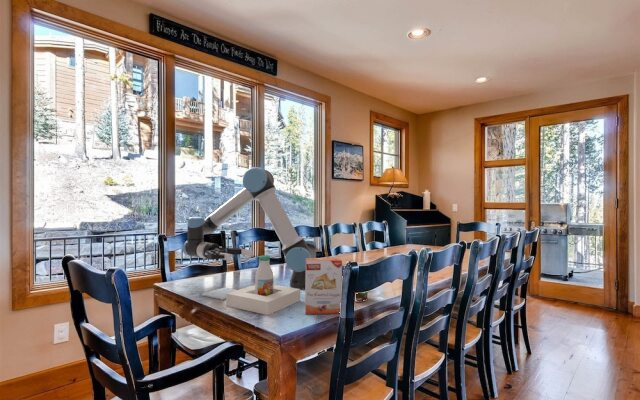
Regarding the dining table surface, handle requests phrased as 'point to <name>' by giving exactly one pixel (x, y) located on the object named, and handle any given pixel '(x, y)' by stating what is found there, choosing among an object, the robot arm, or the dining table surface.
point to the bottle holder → (263, 299)
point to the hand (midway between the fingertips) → (242, 255)
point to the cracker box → (323, 285)
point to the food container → (361, 296)
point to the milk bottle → (264, 277)
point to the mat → (218, 293)
